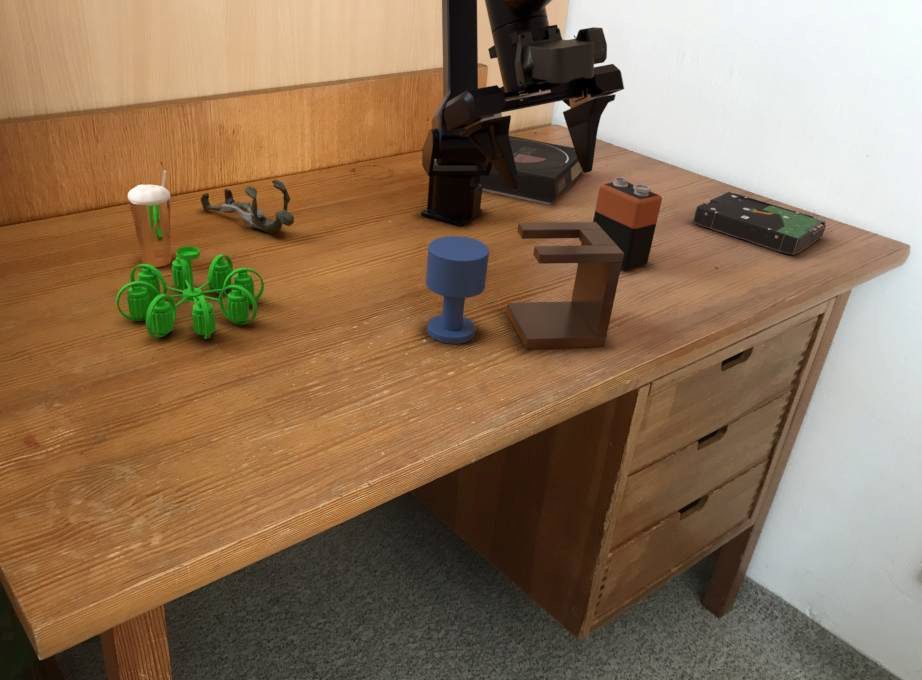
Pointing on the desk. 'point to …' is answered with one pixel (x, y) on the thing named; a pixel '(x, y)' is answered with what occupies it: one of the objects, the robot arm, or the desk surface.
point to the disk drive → (760, 222)
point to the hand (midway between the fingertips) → (552, 180)
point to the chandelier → (190, 294)
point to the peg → (455, 284)
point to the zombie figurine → (254, 209)
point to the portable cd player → (537, 171)
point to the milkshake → (152, 222)
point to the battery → (628, 218)
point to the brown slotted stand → (591, 294)
